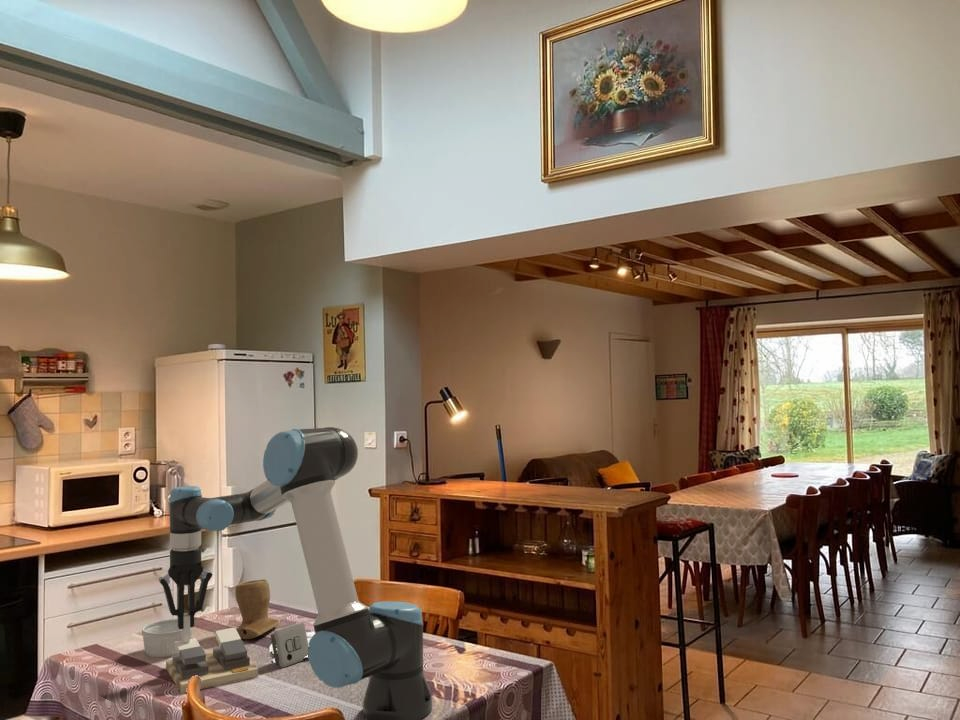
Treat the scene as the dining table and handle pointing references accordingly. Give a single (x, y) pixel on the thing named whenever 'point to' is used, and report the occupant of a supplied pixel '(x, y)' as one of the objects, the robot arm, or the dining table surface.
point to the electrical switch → (290, 644)
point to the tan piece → (254, 608)
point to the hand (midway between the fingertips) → (186, 640)
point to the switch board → (211, 670)
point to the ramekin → (162, 638)
